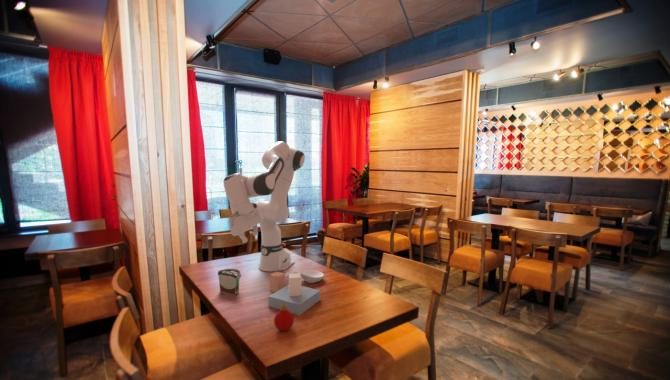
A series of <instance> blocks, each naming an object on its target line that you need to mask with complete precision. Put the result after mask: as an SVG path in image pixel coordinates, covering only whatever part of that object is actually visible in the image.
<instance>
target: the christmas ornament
mask: <svg viewBox="0 0 670 380" xmlns="http://www.w3.org/2000/svg"><path fill="white" fill-rule="evenodd" d="M294 318H295V317H294V314H292V313H291V312H290V311H288V310H287V306H285V305H284V303H283V306H281V310H278V312H277V313H276V314H275V316H274V320H273V323H274V324H273V325H274V326H275V328H276V329H278V330H279V331H281V332H285V331H288V330H290V329H291V328H292V326H293V325H294V322H295V321H294Z"/></svg>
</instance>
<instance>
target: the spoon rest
mask: <svg viewBox="0 0 670 380" xmlns="http://www.w3.org/2000/svg"><path fill="white" fill-rule="evenodd" d="M294 273H300V275H301V279H303V280H304V281H305V282H307V283H309V284H314V283H317V282H320V281H321V280H322V279H323V278H324V277H325V274H324V273H323V272H321V271H318V270H313V269H311V270H309V269H308V270H298V269H297V270H295V269H293V270H289V271H286V273H284V274H285V281H286V280H287V279H288V278H289V274H294Z"/></svg>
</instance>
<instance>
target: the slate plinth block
mask: <svg viewBox="0 0 670 380" xmlns="http://www.w3.org/2000/svg"><path fill="white" fill-rule="evenodd" d="M267 297H268V298H267V299H268V307H269V308H273V309H277V310H279V309H280V310H281V306H283V303H284V305H285V306H287V310H288V311H290V312H291V313H294V314H293V315H295V314H297V315H296V316H299V315H300V314H301V315H302V314H304V313H305V312H306V311H308V310H309V309H310V308H311V306H312V307H313V306H314V305H315V303H316V304H317V303H318V302H319V300H320V301H321V290H320V289H316V288H311V287H308V286H304V285H301V295H299V296H289V284H288V285H285V287H284V288H282V289H280V290H279V291H277V292H273V293H272V294H270V295H268V296H267ZM307 309H308V310H307ZM280 310H279V311H280ZM303 312H304V313H303ZM301 315H300V316H301Z"/></svg>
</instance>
